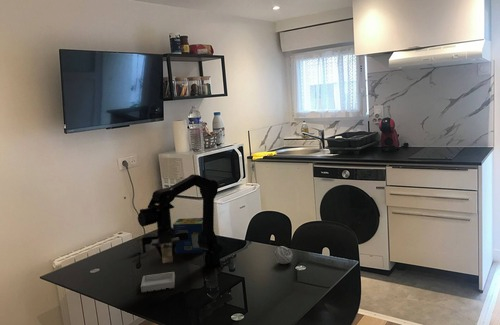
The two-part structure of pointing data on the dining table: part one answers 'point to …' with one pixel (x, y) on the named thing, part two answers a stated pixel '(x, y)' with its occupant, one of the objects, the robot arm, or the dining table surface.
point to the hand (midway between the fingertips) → (167, 257)
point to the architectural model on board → (145, 247)
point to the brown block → (167, 253)
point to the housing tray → (158, 281)
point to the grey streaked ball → (283, 255)
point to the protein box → (189, 235)
